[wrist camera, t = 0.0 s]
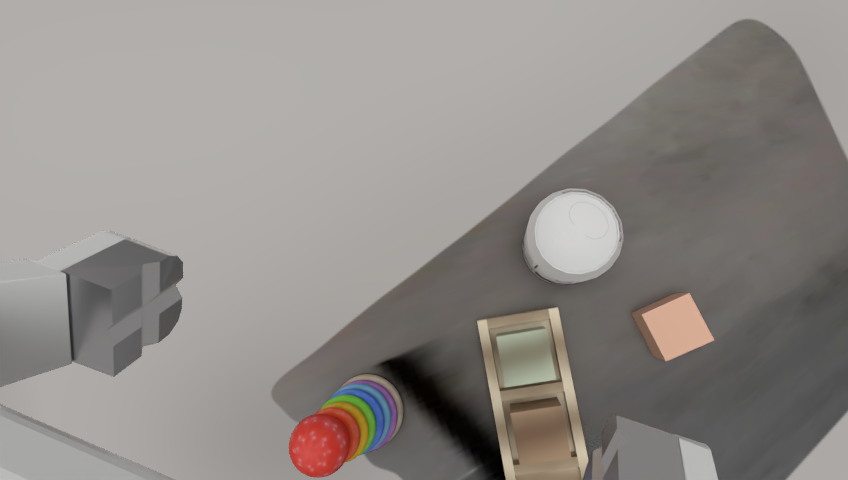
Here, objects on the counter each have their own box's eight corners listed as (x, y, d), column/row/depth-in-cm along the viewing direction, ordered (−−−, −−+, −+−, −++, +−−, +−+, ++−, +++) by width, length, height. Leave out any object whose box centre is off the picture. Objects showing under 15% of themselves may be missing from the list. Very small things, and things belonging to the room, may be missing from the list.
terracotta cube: (697, 336, 61) (714, 340, 56) (653, 356, 61) (665, 361, 56) (674, 293, 61) (689, 292, 56) (631, 313, 62) (641, 314, 57)
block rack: (599, 530, 60) (610, 556, 54) (518, 540, 61) (519, 567, 55) (555, 306, 63) (560, 307, 57) (478, 319, 64) (475, 322, 58)
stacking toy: (393, 364, 65) (347, 391, 46) (413, 435, 64) (375, 491, 45) (327, 384, 66) (257, 418, 47) (346, 454, 64) (282, 517, 46)
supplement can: (558, 195, 64) (573, 165, 49) (614, 247, 63) (648, 231, 48) (506, 248, 64) (507, 233, 49) (562, 300, 63) (579, 302, 48)
